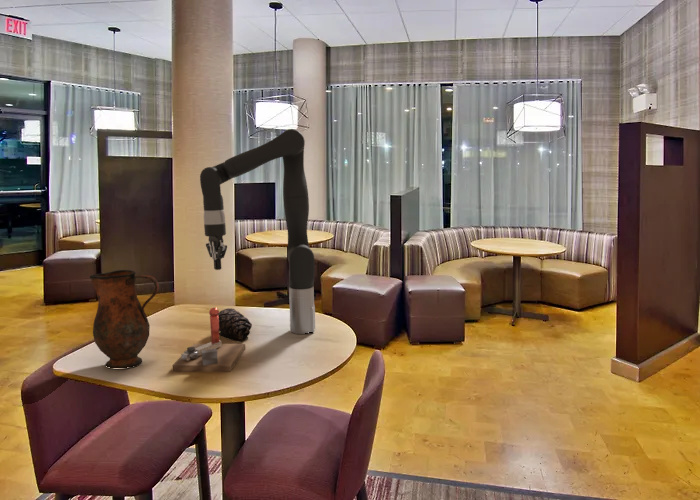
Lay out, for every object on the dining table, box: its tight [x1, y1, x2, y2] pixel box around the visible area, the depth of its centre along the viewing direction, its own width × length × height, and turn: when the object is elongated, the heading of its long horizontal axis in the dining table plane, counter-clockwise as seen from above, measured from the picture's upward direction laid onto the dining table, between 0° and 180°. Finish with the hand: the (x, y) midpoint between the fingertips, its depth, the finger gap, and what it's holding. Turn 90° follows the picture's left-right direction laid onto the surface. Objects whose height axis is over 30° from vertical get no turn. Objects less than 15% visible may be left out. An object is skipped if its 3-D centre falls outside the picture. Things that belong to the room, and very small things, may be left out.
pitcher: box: [89, 269, 160, 369], centre depth 170 cm, size 17×21×30 cm
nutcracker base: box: [171, 343, 247, 373], centre depth 175 cm, size 18×20×6 cm
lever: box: [180, 307, 223, 361], centre depth 174 cm, size 16×4×14 cm, turn 150°
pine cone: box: [218, 307, 253, 343], centre depth 199 cm, size 10×18×10 cm, turn 49°
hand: (217, 269), depth 198 cm, fingers closed
